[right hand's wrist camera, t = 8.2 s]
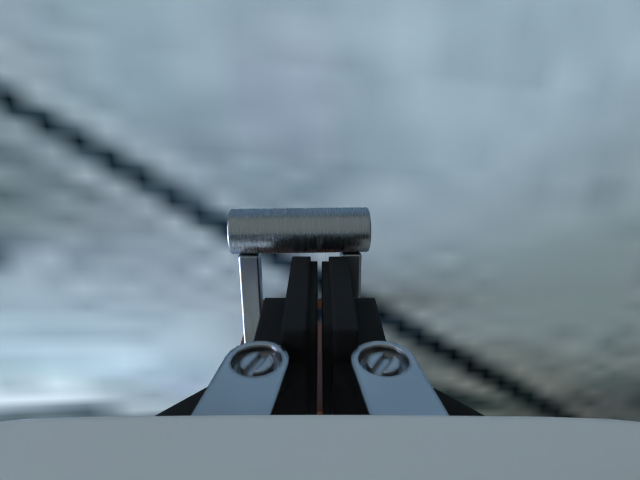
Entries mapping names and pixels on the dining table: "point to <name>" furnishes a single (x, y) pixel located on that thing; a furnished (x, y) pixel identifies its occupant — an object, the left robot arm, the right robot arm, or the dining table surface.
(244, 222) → the drawer
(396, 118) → the dining table surface
